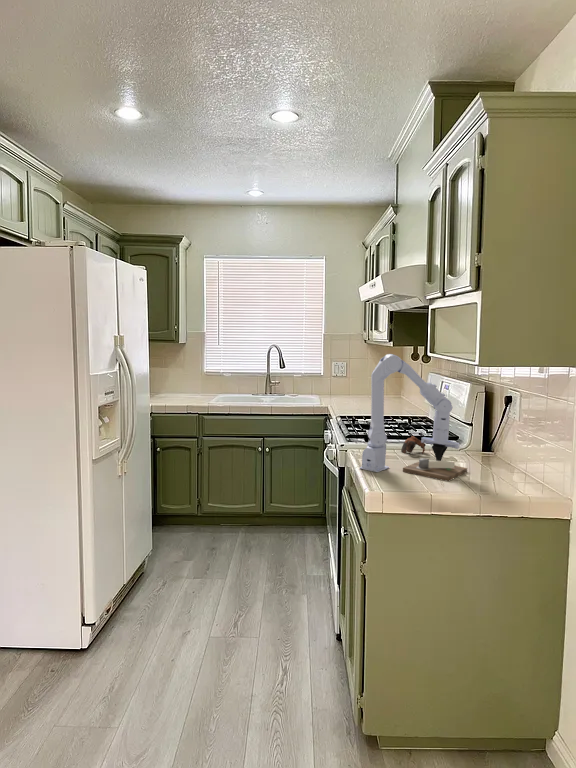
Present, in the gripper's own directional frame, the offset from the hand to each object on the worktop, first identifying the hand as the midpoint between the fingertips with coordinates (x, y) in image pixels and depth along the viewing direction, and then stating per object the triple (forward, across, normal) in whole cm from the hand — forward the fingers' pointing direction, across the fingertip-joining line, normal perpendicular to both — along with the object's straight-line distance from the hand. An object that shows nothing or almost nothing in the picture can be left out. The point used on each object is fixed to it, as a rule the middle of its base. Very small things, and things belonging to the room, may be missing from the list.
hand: (438, 464), depth 217 cm
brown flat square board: (+3, 0, +2) cm, 3 cm away
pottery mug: (+3, +21, -21) cm, 30 cm away
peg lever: (+1, 0, +3) cm, 3 cm away
